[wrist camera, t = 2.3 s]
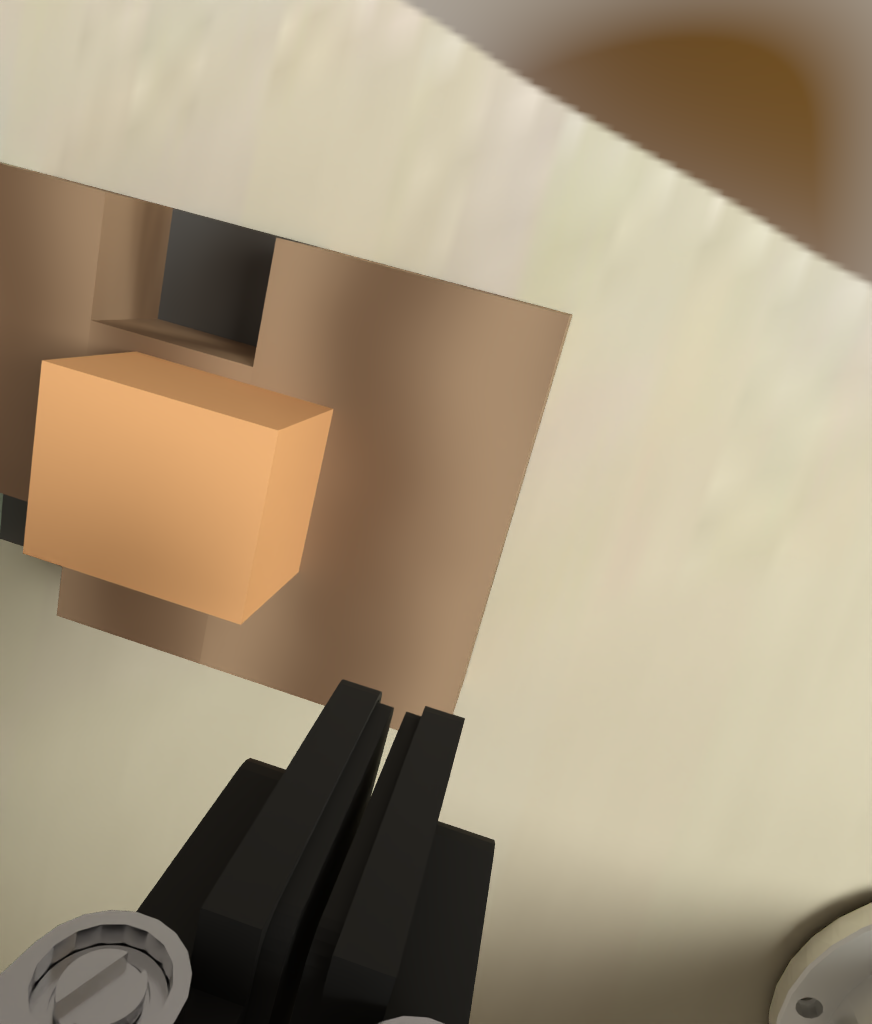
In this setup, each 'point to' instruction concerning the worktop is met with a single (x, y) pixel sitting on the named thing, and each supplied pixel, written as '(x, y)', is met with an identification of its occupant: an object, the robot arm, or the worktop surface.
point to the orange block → (172, 480)
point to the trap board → (307, 376)
